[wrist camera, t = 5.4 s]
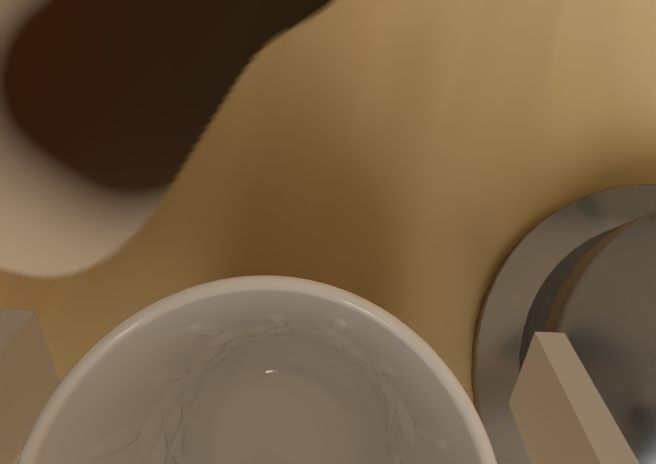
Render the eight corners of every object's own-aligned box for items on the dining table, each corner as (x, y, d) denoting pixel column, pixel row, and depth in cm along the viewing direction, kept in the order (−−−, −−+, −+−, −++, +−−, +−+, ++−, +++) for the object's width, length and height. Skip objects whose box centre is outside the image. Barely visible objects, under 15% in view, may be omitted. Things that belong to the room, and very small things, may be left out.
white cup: (134, 410, 17) (-104, 496, 7) (306, 269, 18) (294, 186, 9) (273, 604, 16) (203, 1012, 6) (446, 438, 17) (616, 560, 7)
